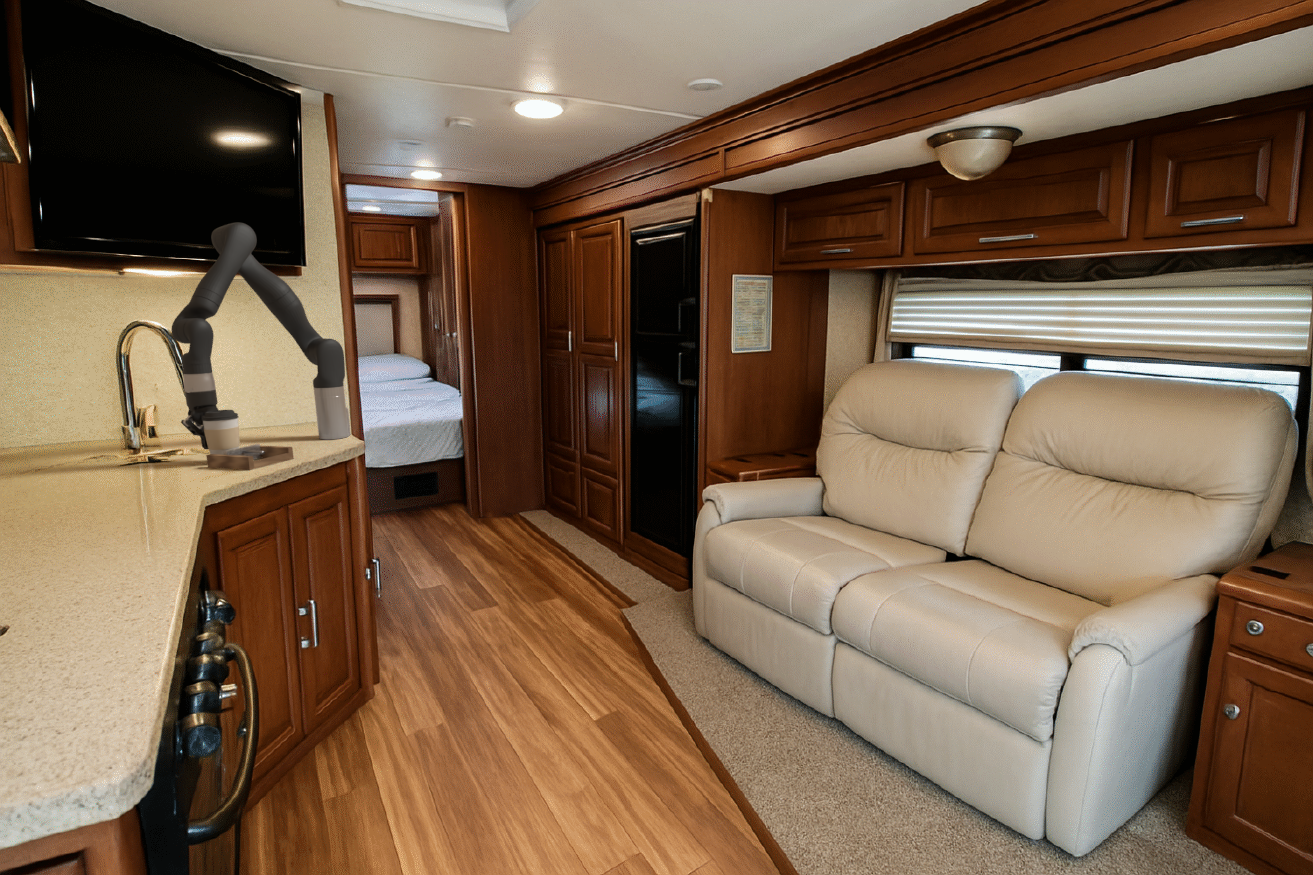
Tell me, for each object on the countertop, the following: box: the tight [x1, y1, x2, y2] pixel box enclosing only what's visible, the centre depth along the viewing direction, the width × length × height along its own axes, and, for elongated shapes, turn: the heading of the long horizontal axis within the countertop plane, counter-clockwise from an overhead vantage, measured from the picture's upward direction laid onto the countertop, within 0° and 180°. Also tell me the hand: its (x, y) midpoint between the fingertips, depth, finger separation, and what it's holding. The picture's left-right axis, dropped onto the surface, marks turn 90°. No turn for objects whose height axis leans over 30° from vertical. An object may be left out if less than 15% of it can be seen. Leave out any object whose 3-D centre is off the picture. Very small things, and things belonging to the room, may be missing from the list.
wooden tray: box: [205, 444, 294, 471], centre depth 201 cm, size 15×15×4 cm
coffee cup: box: [202, 409, 241, 455], centre depth 203 cm, size 9×9×15 cm
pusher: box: [223, 443, 265, 461], centre depth 200 cm, size 8×11×4 cm
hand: (208, 448), depth 205 cm, fingers closed
